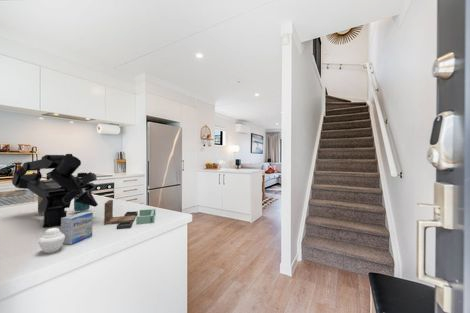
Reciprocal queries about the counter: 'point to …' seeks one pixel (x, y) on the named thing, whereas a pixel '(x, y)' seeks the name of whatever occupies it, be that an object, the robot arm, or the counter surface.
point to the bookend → (114, 220)
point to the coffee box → (51, 184)
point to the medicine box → (77, 227)
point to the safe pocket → (146, 216)
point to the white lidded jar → (51, 240)
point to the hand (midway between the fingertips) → (96, 205)
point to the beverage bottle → (80, 205)
